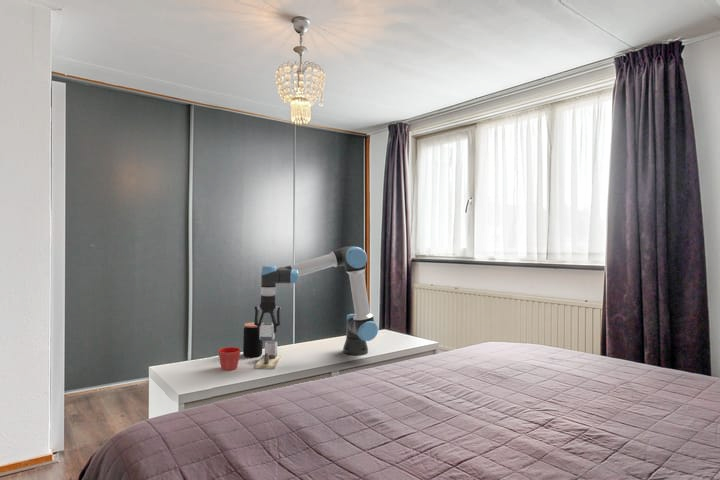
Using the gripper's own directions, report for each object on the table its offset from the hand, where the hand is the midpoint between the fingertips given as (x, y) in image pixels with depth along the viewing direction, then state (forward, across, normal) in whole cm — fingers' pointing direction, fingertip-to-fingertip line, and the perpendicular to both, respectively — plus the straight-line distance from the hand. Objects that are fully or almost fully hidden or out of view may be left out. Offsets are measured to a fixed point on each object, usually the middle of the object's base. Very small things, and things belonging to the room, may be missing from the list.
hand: (266, 338), depth 224 cm
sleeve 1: (0, 0, 0) cm, 0 cm away
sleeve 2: (+13, 0, -12) cm, 18 cm away
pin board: (+15, 0, -6) cm, 16 cm away
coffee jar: (+15, +12, -20) cm, 28 cm away
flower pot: (+15, +18, +5) cm, 24 cm away
